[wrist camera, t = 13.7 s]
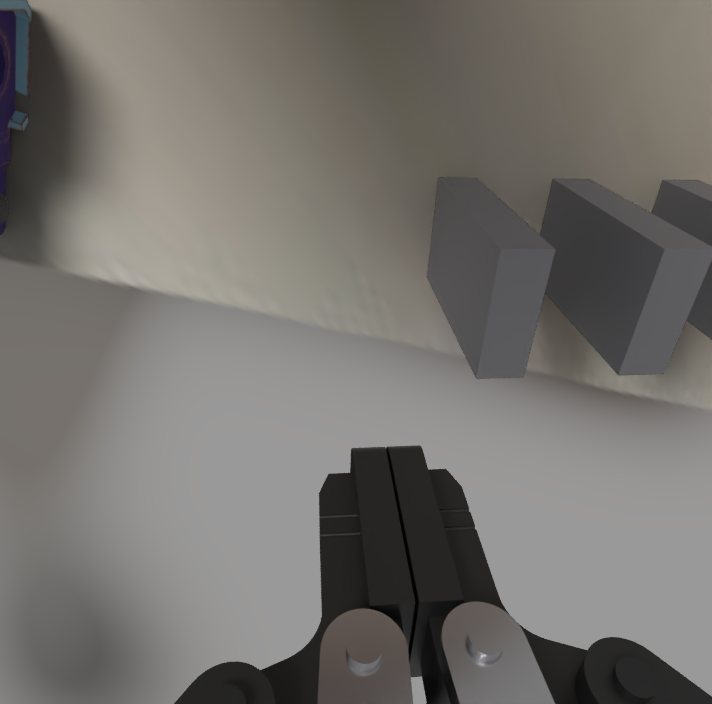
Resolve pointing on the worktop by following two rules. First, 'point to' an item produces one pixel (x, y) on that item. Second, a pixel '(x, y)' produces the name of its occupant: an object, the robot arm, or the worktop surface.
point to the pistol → (12, 81)
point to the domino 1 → (487, 276)
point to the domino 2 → (621, 274)
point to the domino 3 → (691, 233)
